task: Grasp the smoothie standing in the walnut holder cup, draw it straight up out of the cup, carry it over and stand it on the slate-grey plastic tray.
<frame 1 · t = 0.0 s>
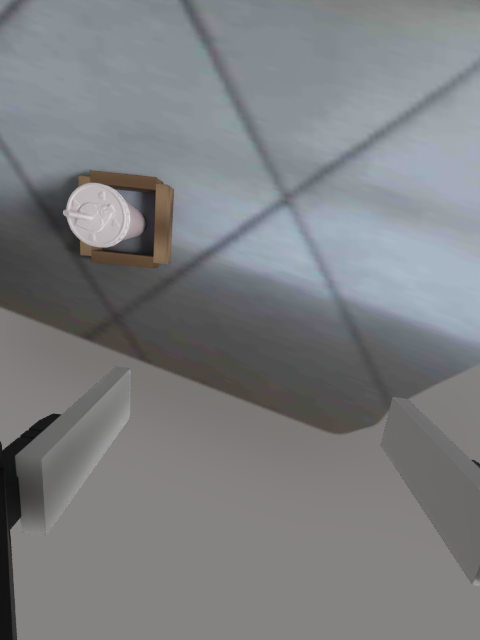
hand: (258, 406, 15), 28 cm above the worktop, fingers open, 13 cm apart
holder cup: (131, 222, 40), on the worktop
smoothie: (132, 222, 40), resting in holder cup
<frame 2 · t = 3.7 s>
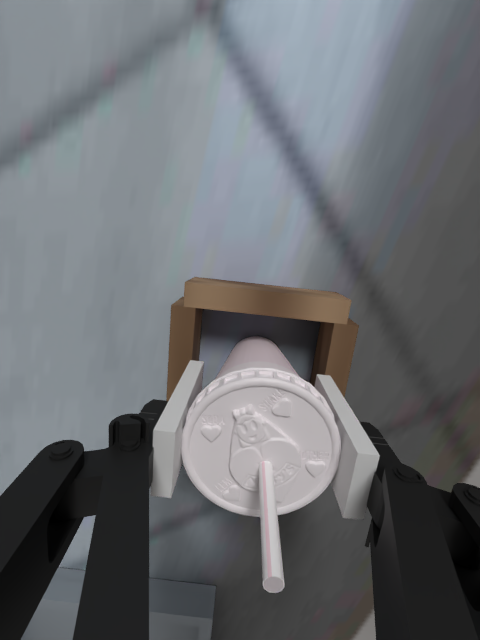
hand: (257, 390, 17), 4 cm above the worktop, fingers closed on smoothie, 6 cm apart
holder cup: (255, 361, 21), on the worktop
tray: (113, 631, 28), on the worktop
smoothie: (255, 360, 21), resting in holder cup, touching gripper
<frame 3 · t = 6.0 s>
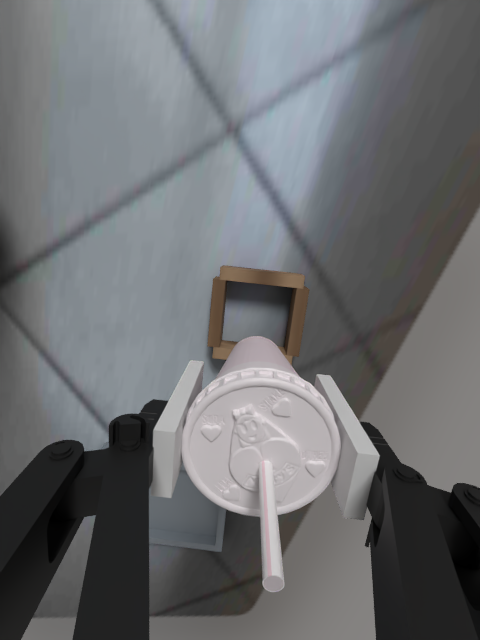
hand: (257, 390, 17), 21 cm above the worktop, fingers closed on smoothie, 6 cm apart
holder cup: (256, 313, 37), on the worktop
tray: (166, 491, 44), on the worktop
smoothie: (255, 360, 21), point 17 cm above the worktop, touching gripper
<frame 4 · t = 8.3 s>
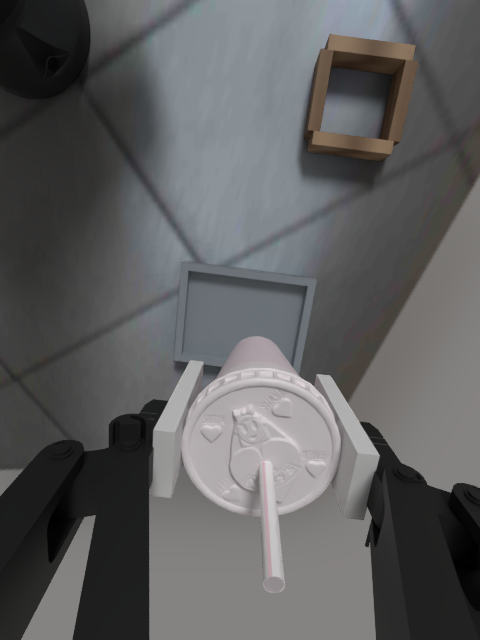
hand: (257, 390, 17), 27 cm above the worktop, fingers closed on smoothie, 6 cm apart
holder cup: (352, 108, 37), on the worktop
tray: (242, 317, 44), on the worktop
smoothie: (256, 360, 21), point 22 cm above the worktop, touching gripper
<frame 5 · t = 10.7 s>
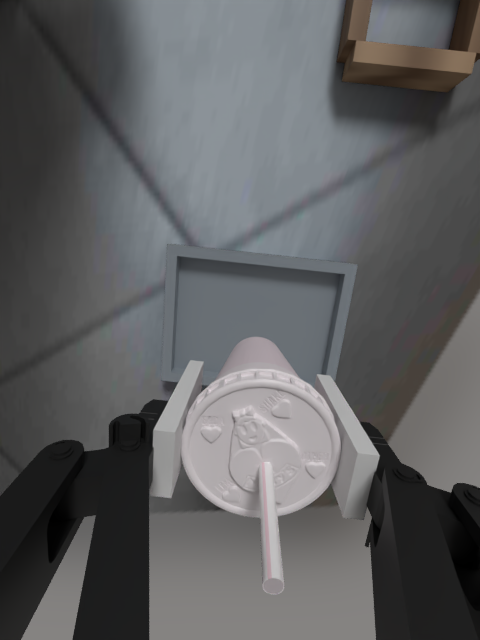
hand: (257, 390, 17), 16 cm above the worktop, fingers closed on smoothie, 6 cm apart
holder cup: (409, 13, 25), on the worktop
tray: (253, 320, 32), on the worktop
smoothie: (255, 360, 21), point 11 cm above the worktop, touching gripper
when the fingers open (7 cm above the worktop, at t = 12.8 s): smoothie drops 1 cm, resting on tray.
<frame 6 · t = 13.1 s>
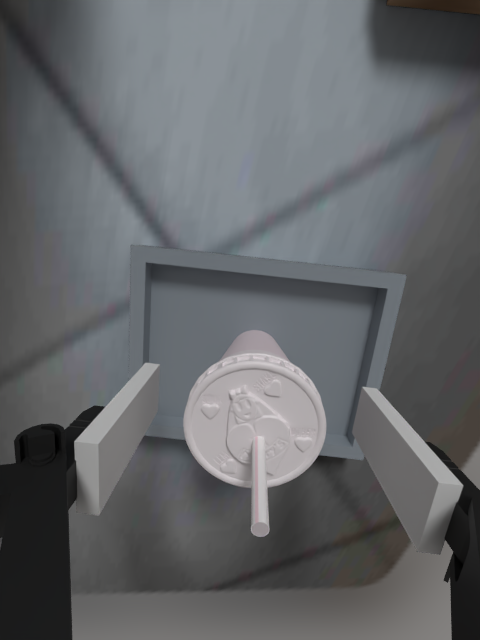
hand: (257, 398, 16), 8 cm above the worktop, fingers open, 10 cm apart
tray: (255, 349, 24), on the worktop
smoothie: (254, 352, 23), point 1 cm above the worktop, touching tray
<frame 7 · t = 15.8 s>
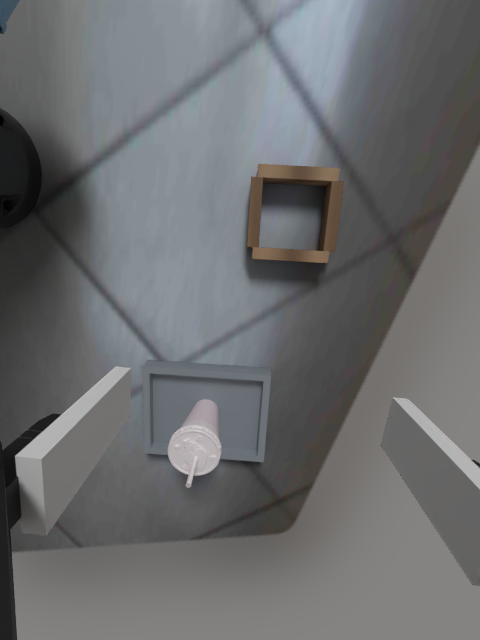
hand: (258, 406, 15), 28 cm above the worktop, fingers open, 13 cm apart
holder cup: (290, 217, 39), on the worktop
tray: (207, 407, 46), on the worktop
smoothie: (206, 409, 45), point 1 cm above the worktop, touching tray
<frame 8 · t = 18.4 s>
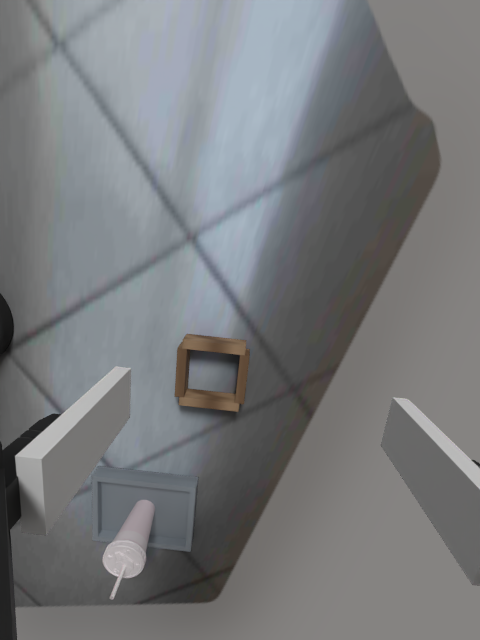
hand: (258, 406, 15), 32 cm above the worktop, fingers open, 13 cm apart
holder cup: (213, 368, 49), on the worktop
tray: (147, 503, 55), on the worktop
smoothie: (145, 507, 55), point 1 cm above the worktop, touching tray
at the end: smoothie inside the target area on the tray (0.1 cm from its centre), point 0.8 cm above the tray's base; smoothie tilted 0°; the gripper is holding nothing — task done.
